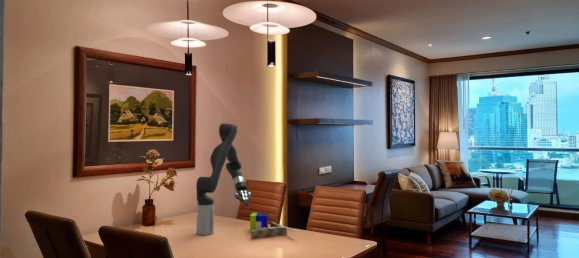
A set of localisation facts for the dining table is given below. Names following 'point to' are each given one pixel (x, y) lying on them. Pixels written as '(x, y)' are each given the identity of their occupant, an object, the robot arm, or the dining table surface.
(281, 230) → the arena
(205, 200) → the robot arm
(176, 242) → the dining table surface
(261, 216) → the puzzle toy
